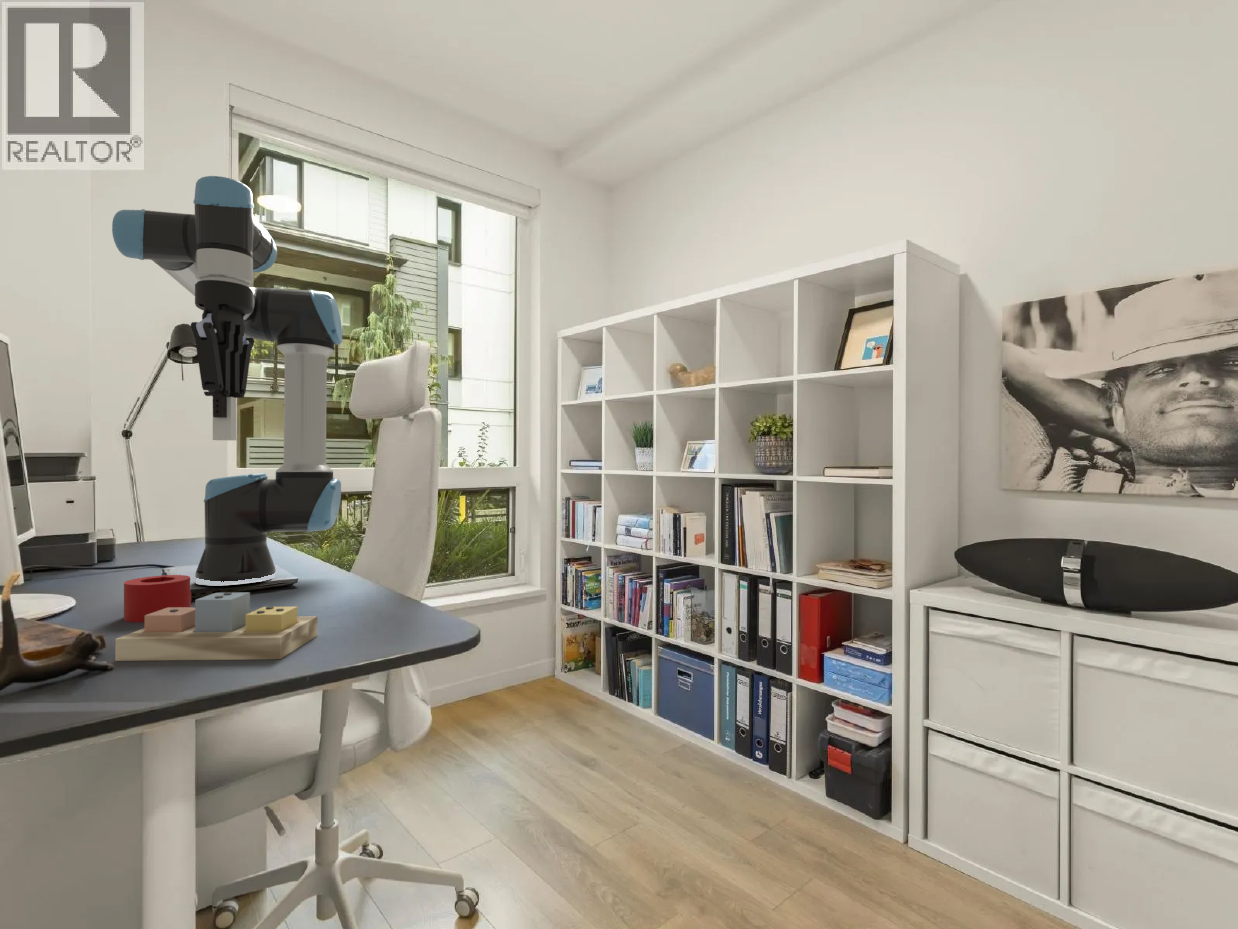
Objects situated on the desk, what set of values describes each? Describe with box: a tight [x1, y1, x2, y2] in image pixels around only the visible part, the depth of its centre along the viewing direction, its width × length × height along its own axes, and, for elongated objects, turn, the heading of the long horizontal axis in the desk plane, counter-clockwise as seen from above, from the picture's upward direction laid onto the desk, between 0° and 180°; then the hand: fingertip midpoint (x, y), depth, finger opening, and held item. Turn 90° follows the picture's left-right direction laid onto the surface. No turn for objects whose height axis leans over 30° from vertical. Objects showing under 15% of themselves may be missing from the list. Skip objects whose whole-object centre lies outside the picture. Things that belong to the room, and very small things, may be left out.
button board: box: [114, 615, 319, 662], centre depth 94 cm, size 12×22×3 cm, turn 92°
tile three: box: [246, 606, 298, 632], centre depth 94 cm, size 5×5×5 cm
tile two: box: [194, 591, 251, 632], centre depth 94 cm, size 5×5×5 cm
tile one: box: [144, 606, 195, 633], centre depth 94 cm, size 5×5×5 cm
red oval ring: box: [123, 574, 192, 623], centre depth 117 cm, size 18×9×7 cm, turn 18°
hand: (224, 440), depth 98 cm, fingers closed
